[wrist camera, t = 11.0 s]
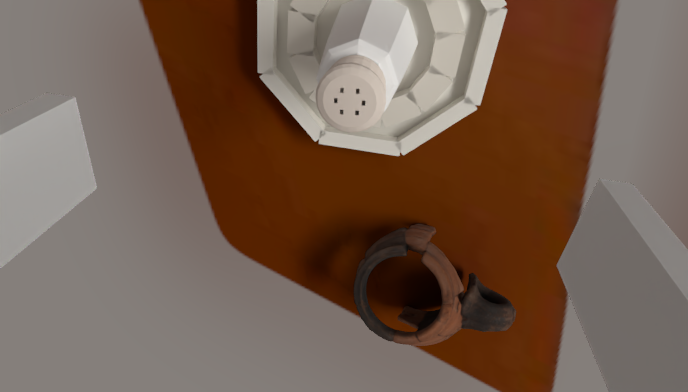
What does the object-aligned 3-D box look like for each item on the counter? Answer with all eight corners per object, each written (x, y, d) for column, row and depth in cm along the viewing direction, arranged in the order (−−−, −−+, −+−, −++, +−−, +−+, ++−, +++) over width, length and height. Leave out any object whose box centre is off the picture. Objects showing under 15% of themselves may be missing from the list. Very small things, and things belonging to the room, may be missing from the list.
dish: (266, -114, 24) (255, -117, 22) (525, -83, 23) (534, -83, 21) (265, 124, 31) (256, 135, 30) (460, 154, 30) (462, 167, 29)
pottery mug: (374, 311, 40) (338, 345, 33) (383, 211, 39) (348, 221, 32) (511, 342, 36) (507, 390, 28) (525, 229, 35) (524, 247, 27)
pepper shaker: (328, 81, 28) (285, 158, 19) (328, -12, 25) (277, 25, 16) (413, 87, 27) (412, 169, 18) (423, -8, 24) (428, 32, 15)
